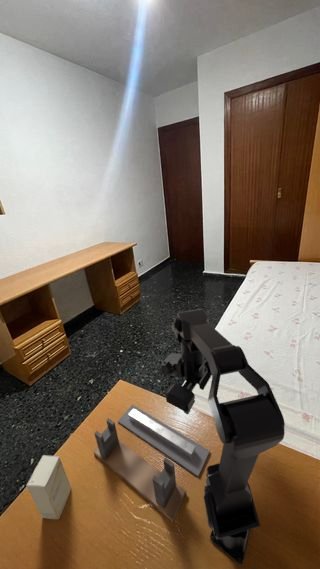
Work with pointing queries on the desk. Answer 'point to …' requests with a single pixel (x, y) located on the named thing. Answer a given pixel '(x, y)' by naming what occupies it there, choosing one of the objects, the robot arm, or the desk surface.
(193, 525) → the desk surface
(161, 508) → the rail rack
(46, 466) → the skincare box
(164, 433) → the steel rail
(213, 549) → the desk surface
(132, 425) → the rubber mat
